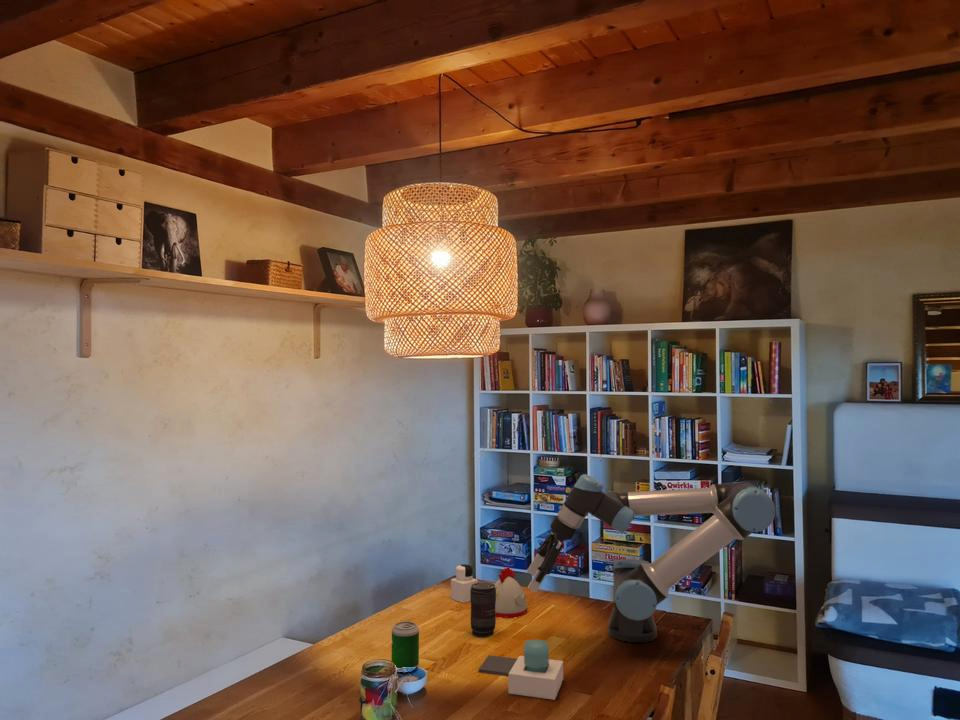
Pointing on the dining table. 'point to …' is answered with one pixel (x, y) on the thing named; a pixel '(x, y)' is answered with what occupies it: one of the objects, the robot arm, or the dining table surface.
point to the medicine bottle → (462, 583)
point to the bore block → (535, 680)
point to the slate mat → (497, 665)
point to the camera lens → (483, 609)
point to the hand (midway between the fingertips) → (530, 581)
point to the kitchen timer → (509, 596)
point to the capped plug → (536, 655)
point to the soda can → (405, 645)
